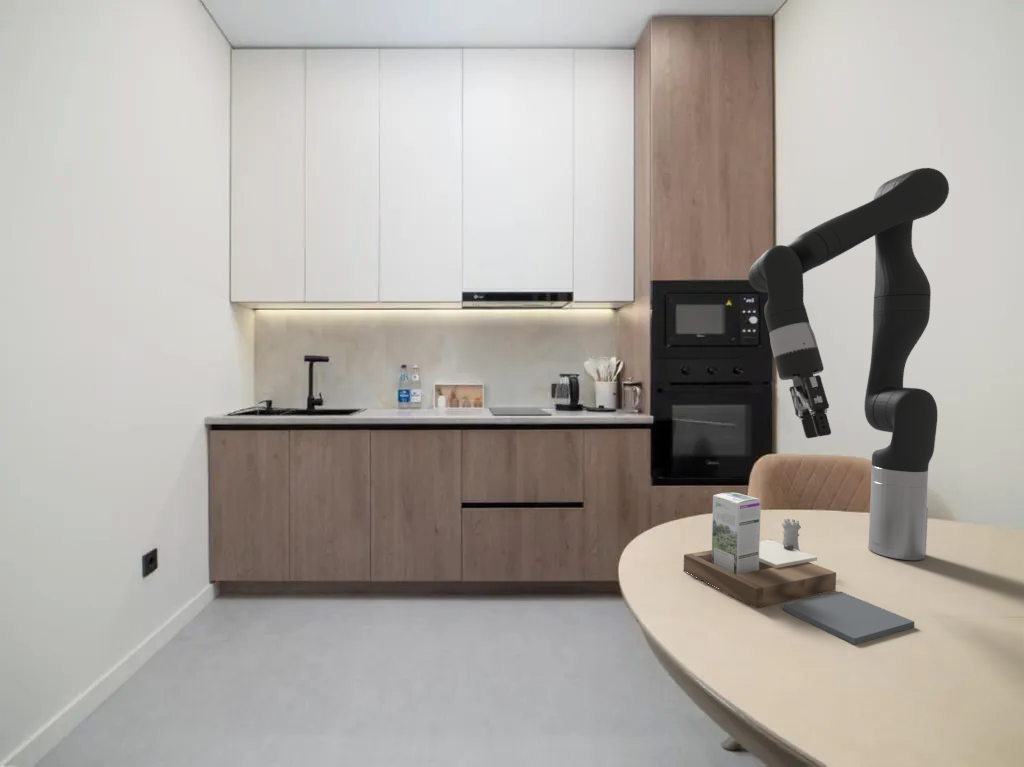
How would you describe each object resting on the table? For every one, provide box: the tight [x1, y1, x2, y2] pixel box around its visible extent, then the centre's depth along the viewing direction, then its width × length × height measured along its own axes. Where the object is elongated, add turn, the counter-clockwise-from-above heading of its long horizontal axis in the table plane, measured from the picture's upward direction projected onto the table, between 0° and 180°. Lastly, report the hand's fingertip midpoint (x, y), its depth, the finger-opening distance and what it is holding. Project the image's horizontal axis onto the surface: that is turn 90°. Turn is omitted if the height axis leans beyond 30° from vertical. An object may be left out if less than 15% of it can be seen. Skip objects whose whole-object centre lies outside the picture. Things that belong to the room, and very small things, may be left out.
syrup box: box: [711, 491, 762, 574], centre depth 95 cm, size 6×6×14 cm
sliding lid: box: [759, 539, 818, 568], centre depth 98 cm, size 10×10×1 cm
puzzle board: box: [683, 549, 837, 609], centre depth 94 cm, size 18×16×3 cm
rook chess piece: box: [781, 518, 802, 551], centre depth 103 cm, size 4×4×8 cm
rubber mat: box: [783, 591, 915, 645], centre depth 80 cm, size 13×11×1 cm
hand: (818, 436), depth 99 cm, fingers open, 8 cm apart
